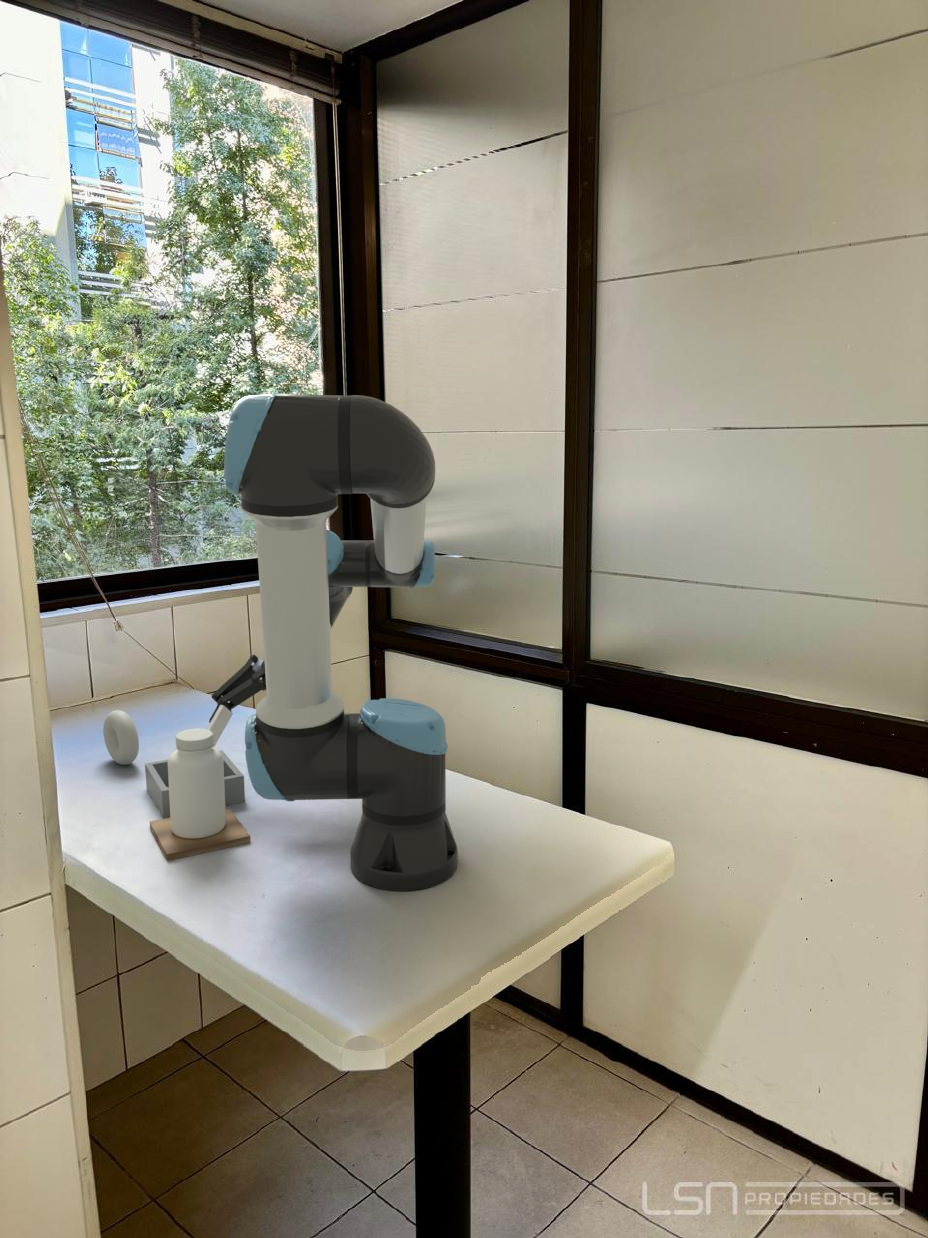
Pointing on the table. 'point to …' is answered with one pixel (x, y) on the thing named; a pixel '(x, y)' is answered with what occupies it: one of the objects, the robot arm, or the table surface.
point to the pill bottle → (196, 785)
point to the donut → (121, 737)
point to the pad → (186, 847)
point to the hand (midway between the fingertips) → (237, 753)
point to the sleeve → (160, 782)
